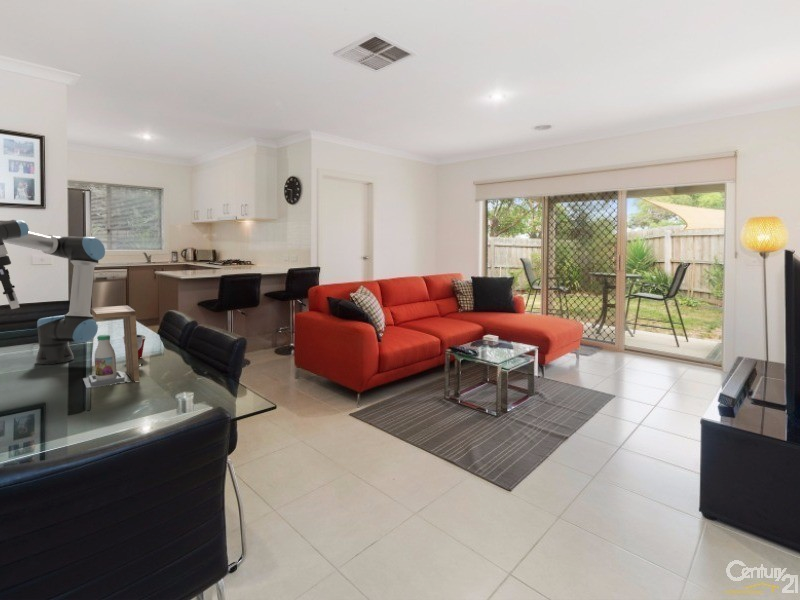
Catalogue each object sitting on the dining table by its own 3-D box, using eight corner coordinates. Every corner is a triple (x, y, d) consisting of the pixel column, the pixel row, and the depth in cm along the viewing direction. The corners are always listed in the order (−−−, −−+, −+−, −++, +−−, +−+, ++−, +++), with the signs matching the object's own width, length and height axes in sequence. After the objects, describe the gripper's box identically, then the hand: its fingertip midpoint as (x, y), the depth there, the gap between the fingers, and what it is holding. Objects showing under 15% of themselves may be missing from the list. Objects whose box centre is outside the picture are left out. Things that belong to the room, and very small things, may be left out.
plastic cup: (136, 361, 224) (135, 339, 222) (118, 360, 226) (117, 337, 224) (152, 356, 234) (151, 334, 233) (135, 355, 236) (134, 333, 235)
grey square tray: (83, 379, 193) (82, 375, 193) (124, 373, 204) (124, 369, 204) (86, 389, 181) (86, 384, 181) (130, 381, 192) (130, 377, 192)
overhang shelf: (96, 376, 198) (91, 307, 194) (131, 371, 207) (127, 305, 203) (101, 388, 183) (96, 313, 179) (139, 381, 192) (135, 310, 188)
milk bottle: (102, 376, 196) (99, 333, 194) (120, 376, 197) (117, 333, 194) (92, 382, 188) (88, 337, 186) (110, 382, 189) (107, 337, 187)
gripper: (-16, 256, 183) (3, 303, 189) (-17, 260, 165) (3, 313, 171) (7, 252, 188) (25, 299, 194) (8, 256, 170) (27, 307, 176)
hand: (15, 305), depth 183 cm, fingers open, 13 cm apart
